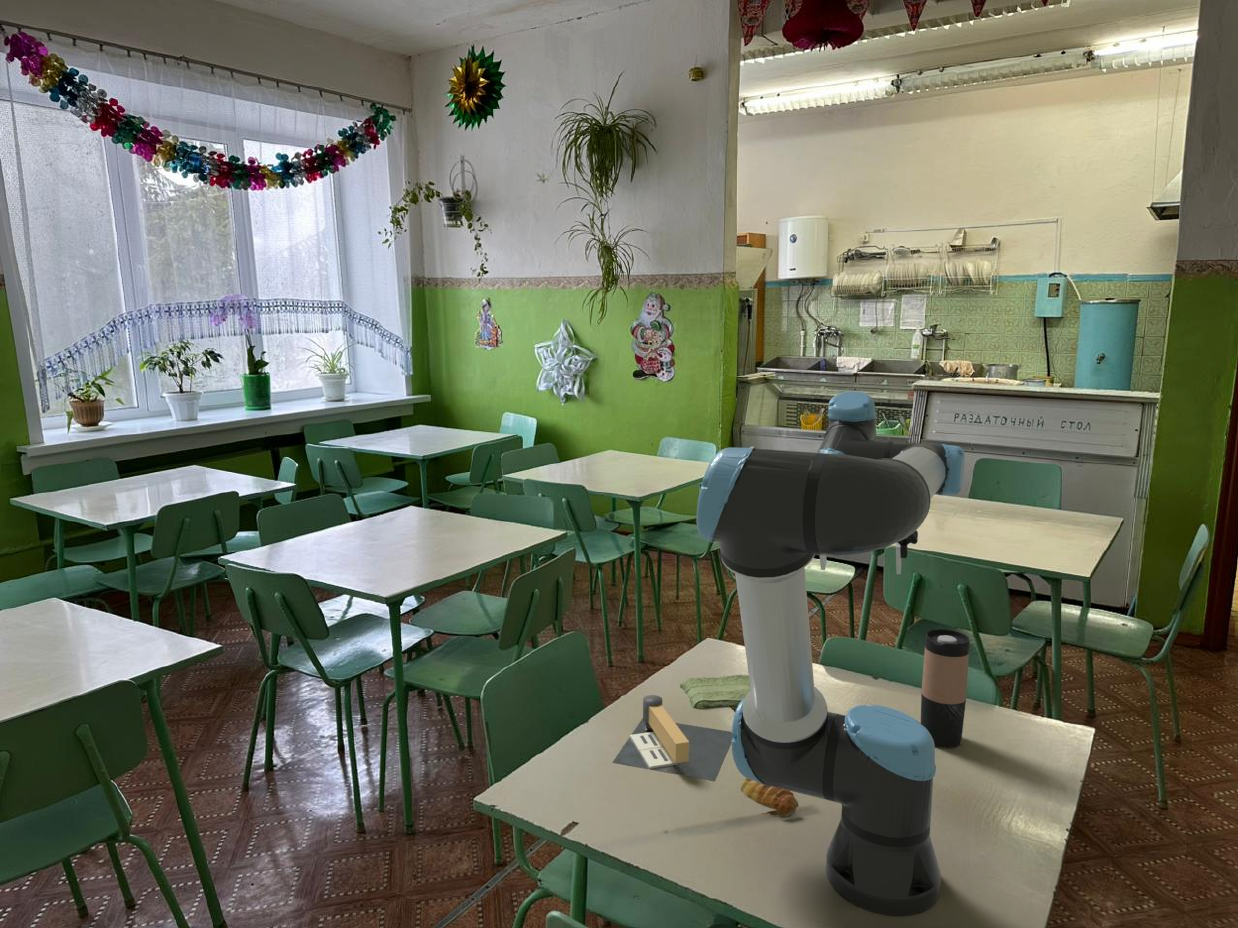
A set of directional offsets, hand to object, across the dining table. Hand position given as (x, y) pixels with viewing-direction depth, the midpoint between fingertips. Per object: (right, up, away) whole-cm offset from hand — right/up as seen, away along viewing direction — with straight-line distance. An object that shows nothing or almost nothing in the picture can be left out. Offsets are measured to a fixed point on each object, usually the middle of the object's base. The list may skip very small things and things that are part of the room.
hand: (860, 567), depth 157 cm
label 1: (-40, -31, -6) cm, 51 cm away
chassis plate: (-35, -32, -7) cm, 48 cm away
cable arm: (-37, -29, -7) cm, 48 cm away
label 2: (-39, -32, -11) cm, 51 cm away
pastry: (-21, -35, -22) cm, 47 cm away
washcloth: (-23, -29, +15) cm, 40 cm away
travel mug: (+14, -32, -2) cm, 35 cm away
